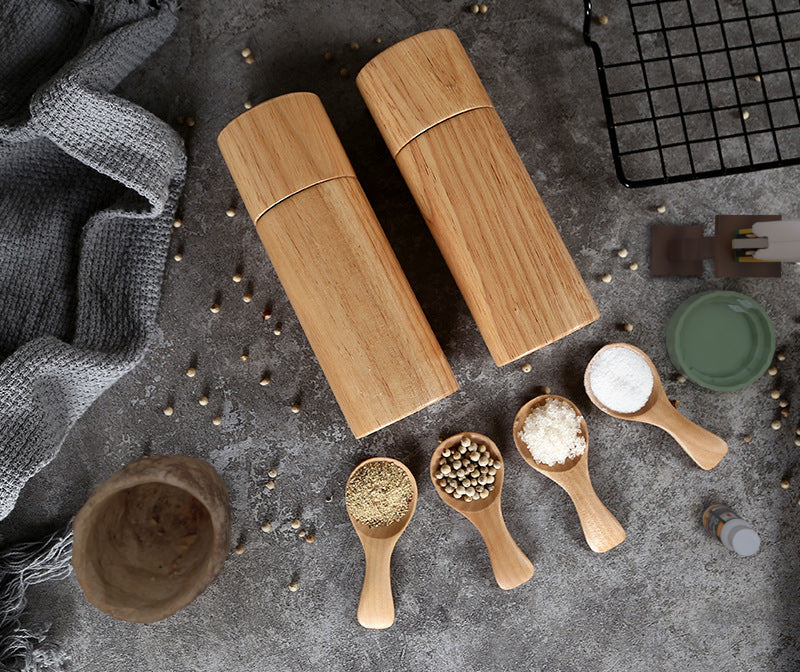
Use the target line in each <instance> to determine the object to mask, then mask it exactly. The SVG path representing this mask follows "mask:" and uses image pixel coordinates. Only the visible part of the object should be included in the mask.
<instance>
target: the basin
mask: <svg viewBox="0 0 800 672" xmlns="http://www.w3.org/2000/svg"><path fill="white" fill-rule="evenodd" d="M665 348H666V350H667V354H668V357H669V359H670V362H671V364H672V365H673V367H674V368H675V369H676V370H677V372H678V373H679V374H680V376H681V377H684V378H685V379H686V380H688V381H689V382H691V383H693V384H695V385H697V386H700V387H702V388H705V389H708V390H712V391H715V392H736V391H738V390H741V389H744V388H748V387H750V386H751V385H752V384H754V383H755V382H757V381H758V380H759V379H761V378H762V377H763V376H764V374H765V372H766V371H767V370H768V368H769V367H770V365H771V363H772V360H773V358H774V355H775V352H776V331H775V327H774V324H773V321H772V318H771V316H770V315H769V314H768V312H767V311H766V309H764V306H762V304H760V303H759V302H758V301H756V300H755V299H753V298H752V297H751V296H749V295H746V294H744V293H741V292H737V291H735V290H723V289H718V290H717V289H715V290H714V289H713V290H712V289H710V290H709V289H708V290H703V291H701V292H698V293H695V294H692V295H691V296H689V297H688V298H686V299H685V300H683V301H682V302H680V304H679V305H678V306H677V308H676V309H675V310H674V312H673V313H672V314H671V316H670V317H669V322H668V323H667V328H666V331H665Z"/></svg>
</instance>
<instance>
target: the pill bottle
mask: <svg viewBox="0 0 800 672" xmlns="http://www.w3.org/2000/svg"><path fill="white" fill-rule="evenodd" d="M702 524H703V527H704V529H705V530H706V531H707V532H708V533H709V534H710V535H711V536H712V537H713V538H714V539H716V540H717V541H718V542H719V543H720V544H721V545H722V546H723V547H725V548H726V549H727V550H728V551H732V552H735V553H736V554H738V555H740V556H743V557H750V556H753V555H754V554H756V553H757V552H758V550H759V549H760V546H761V539H760V537H759V536H760V535H759V534H758V533H757V532H756V531H755V530H754V529H753V527H752V525H751V524H750V523H749V522H748V521H747V520H746V519H744V517H741V516H740V515H739V514H737V513H736V512H735V511H733V510H732V509H730V508H729V507H727V506H725V505H724V504H719V503H718V504H712V505H711V506H709V507H707V508H706V510H705V511H704V513H703V514H702Z"/></svg>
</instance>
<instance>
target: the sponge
mask: <svg viewBox="0 0 800 672" xmlns="http://www.w3.org/2000/svg"><path fill="white" fill-rule="evenodd" d="M744 233H753V232H752V229H743V230H735V239H736V235H737V234H744ZM758 250H759V248H757V251H758ZM735 262H782V261H770V260H759V259H755V258H754V257H736V251H735Z"/></svg>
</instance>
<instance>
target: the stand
mask: <svg viewBox="0 0 800 672" xmlns="http://www.w3.org/2000/svg"><path fill="white" fill-rule="evenodd" d="M771 221H783V215H782V214H715V215H714V235H709V236H704V226H703V225H696V224H695V225H694V224H693V225H691V224H690V225H687V224H685V225H684V224H683V225H682V224H679V225H677V224H675V225H672V224H669V225H668V224H667V225H666V224H665V225H663V224H661V225H659V224H657V225H656V224H654V225H650V257H649V258H650V259H649V260H650V263H649V265H650V266H649V267H650V270H649V271H650V272H649V275H650V276H703V271H704V270H703V269H704V267H703V266H704V265H703V264H704V262H703V261H714V278H719V279H720V278H721V279H722V278H724V279H725V278H731V279H732V278H737V279H739V278H744V279H746V278H749V279H751V278H753V279H756V278H759V279H760V278H762V279H766V278H767V279H768V278H769V279H770V278H771V279H774V278H775V279H776V278H777V279H781V278H782V265H781V262H735V250H734V248H732V239H735V230H743V229H752V226H753V225H754V224H755V223H757V222H771Z"/></svg>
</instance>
